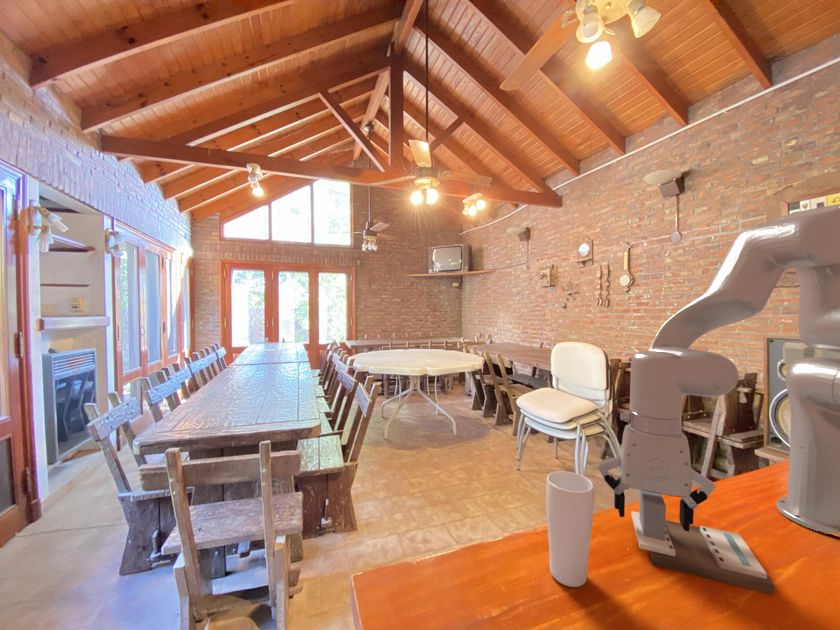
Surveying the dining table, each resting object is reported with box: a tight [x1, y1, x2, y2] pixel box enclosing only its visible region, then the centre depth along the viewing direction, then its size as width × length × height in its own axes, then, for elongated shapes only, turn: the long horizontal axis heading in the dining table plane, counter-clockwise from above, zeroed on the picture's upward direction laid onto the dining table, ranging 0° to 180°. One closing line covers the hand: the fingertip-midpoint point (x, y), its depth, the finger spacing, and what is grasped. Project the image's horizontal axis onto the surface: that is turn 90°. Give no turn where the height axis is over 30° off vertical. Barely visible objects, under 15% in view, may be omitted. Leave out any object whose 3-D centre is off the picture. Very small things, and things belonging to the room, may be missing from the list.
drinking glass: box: [545, 470, 595, 588], centre depth 55 cm, size 7×7×15 cm
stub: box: [630, 490, 675, 557], centre depth 63 cm, size 10×5×7 cm, turn 156°
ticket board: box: [647, 519, 776, 596], centre depth 60 cm, size 12×15×2 cm
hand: (651, 519), depth 63 cm, fingers open, 9 cm apart
